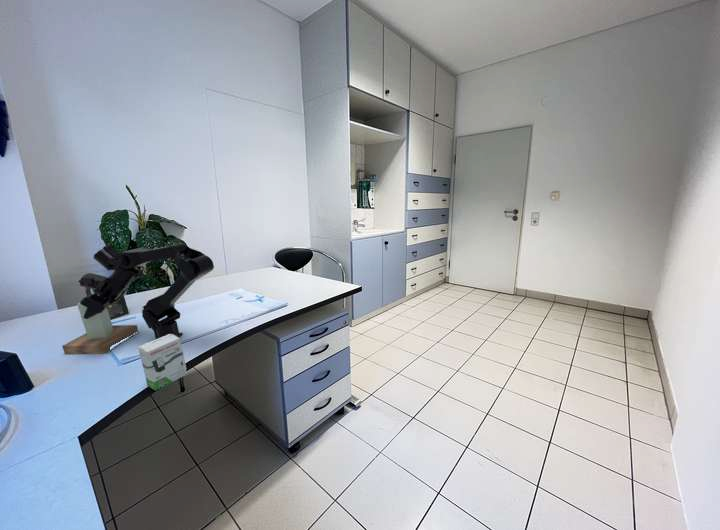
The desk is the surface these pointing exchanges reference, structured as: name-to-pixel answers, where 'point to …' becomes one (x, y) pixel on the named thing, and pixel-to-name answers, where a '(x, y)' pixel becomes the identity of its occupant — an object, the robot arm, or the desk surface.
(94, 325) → the sage block
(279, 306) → the desk surface
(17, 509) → the desk surface
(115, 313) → the tampon box
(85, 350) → the walnut base board
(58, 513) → the desk surface
